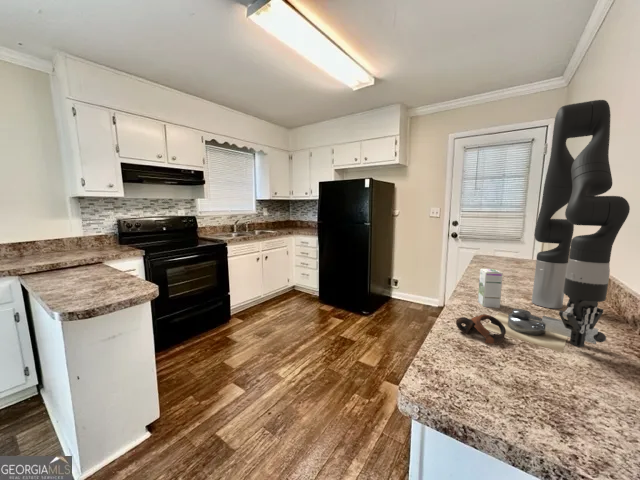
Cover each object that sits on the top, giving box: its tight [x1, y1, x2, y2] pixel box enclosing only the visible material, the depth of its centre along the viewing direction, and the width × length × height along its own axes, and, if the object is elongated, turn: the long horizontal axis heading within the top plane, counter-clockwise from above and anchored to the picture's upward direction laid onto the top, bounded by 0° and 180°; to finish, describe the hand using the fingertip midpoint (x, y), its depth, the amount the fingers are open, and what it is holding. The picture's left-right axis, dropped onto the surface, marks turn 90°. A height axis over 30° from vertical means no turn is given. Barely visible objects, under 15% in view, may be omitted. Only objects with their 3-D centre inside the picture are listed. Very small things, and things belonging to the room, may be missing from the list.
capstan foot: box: [508, 308, 607, 345], centre depth 76 cm, size 21×9×5 cm, turn 43°
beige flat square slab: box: [483, 312, 569, 353], centre depth 80 cm, size 18×18×2 cm
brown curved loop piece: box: [455, 314, 506, 349], centre depth 76 cm, size 12×10×8 cm
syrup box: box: [477, 268, 504, 309], centre depth 100 cm, size 6×6×14 cm
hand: (576, 345), depth 68 cm, fingers closed
